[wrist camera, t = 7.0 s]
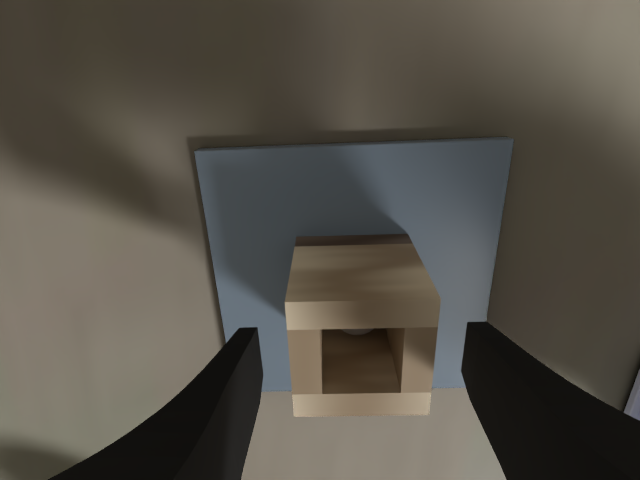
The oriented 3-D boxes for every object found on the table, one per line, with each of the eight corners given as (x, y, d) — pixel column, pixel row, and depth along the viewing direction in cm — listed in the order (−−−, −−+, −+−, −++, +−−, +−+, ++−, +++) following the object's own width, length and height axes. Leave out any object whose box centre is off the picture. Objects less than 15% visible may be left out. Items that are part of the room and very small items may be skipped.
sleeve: (407, 233, 16) (441, 298, 11) (402, 326, 18) (429, 414, 13) (296, 236, 16) (284, 302, 12) (302, 328, 18) (294, 416, 13)
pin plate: (507, 136, 15) (549, 151, 12) (471, 378, 20) (495, 430, 17) (198, 148, 15) (170, 165, 12) (236, 383, 20) (222, 434, 17)
